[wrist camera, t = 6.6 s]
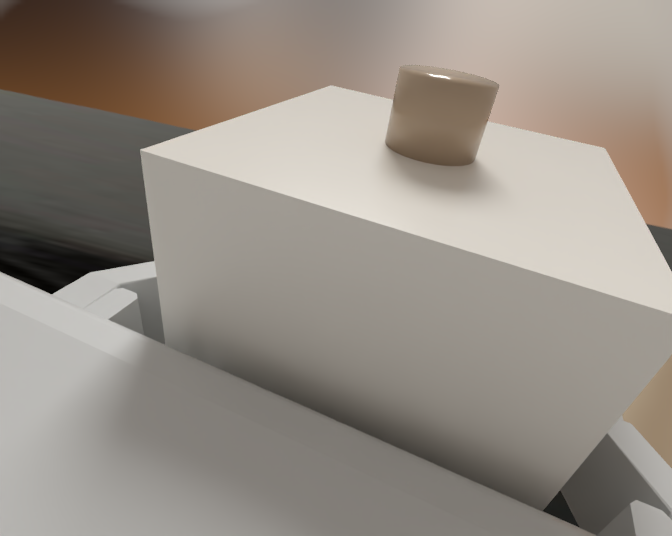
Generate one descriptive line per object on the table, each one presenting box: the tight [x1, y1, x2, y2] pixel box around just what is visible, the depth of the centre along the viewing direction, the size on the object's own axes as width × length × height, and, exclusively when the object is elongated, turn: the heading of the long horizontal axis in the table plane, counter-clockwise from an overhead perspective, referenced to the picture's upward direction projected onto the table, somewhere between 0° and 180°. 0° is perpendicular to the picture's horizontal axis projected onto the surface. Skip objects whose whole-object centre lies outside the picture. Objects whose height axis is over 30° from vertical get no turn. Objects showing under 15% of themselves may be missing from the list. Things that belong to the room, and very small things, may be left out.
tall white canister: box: [140, 65, 672, 511], centre depth 10 cm, size 7×7×11 cm
